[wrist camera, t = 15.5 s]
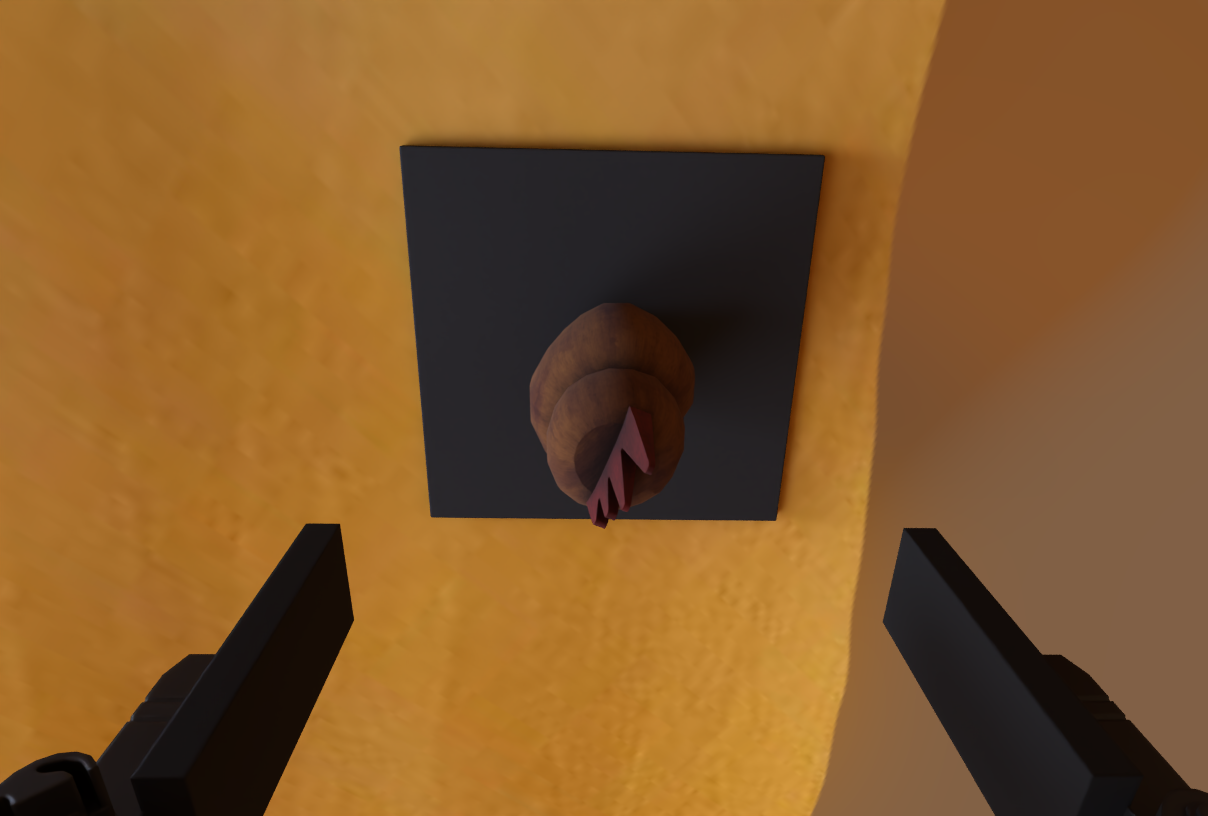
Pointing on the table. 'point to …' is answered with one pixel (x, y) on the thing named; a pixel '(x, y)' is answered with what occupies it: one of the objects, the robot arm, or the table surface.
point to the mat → (606, 275)
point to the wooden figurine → (612, 407)
